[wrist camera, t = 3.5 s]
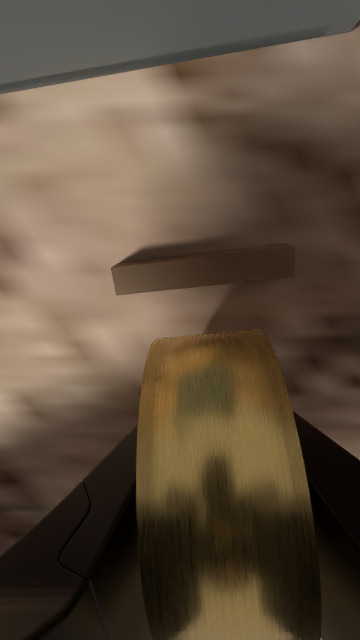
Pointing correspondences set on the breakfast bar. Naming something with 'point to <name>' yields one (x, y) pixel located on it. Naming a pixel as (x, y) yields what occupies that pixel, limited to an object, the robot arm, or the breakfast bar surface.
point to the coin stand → (204, 269)
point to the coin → (223, 495)
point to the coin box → (148, 33)
